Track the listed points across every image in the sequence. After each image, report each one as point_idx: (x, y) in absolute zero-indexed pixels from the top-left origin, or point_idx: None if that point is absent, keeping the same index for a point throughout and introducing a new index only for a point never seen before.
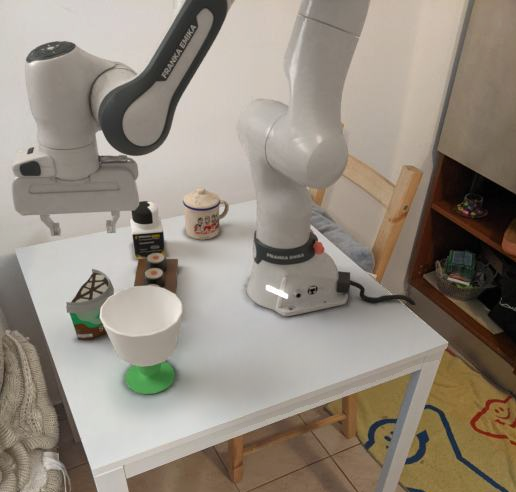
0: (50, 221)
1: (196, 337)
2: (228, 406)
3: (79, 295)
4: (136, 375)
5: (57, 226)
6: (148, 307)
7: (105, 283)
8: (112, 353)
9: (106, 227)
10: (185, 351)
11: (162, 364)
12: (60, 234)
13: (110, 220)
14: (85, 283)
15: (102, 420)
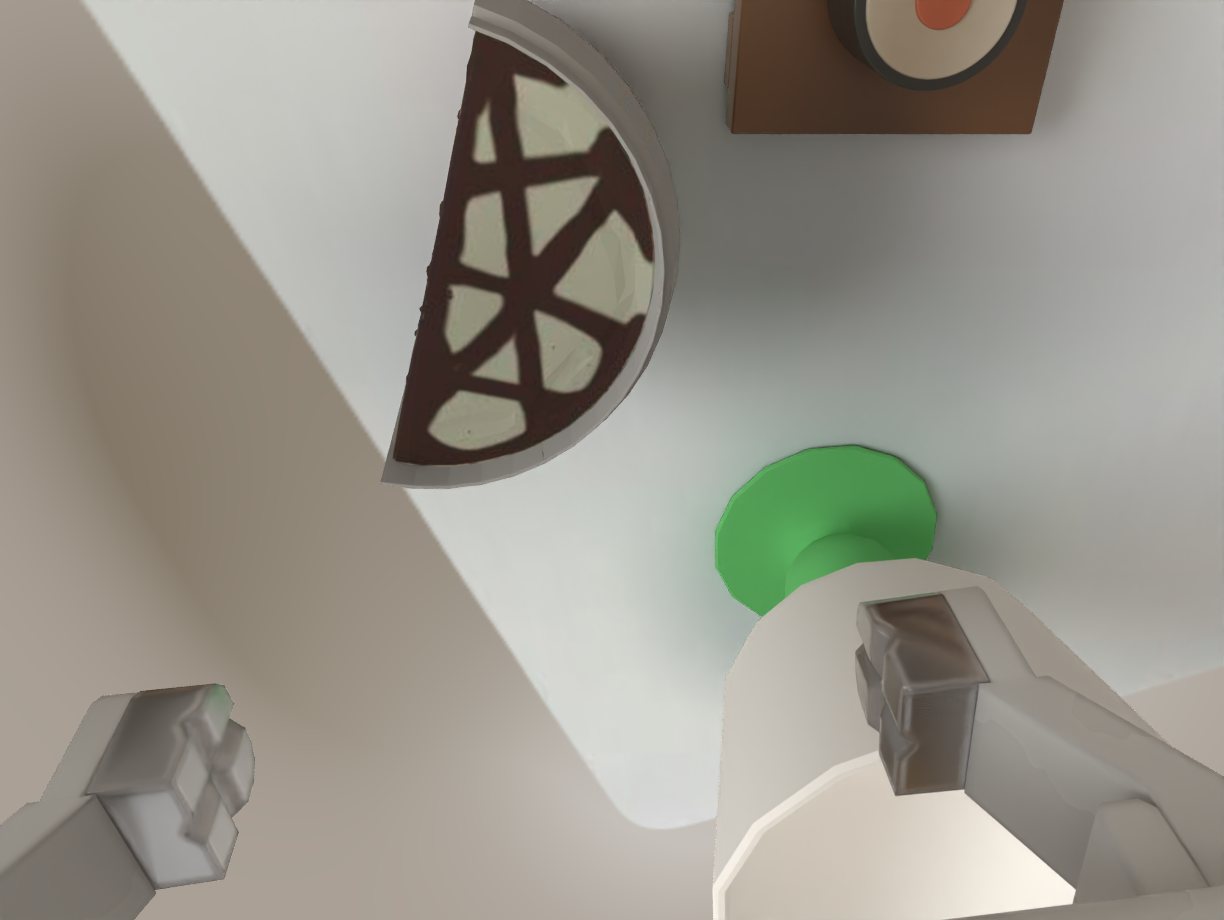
0: (64, 915)
1: (1098, 283)
2: (1107, 665)
3: (441, 361)
4: (763, 543)
5: (196, 861)
6: None
7: (618, 205)
8: (637, 397)
9: (884, 767)
10: (1012, 387)
11: (887, 481)
12: (246, 741)
13: (969, 694)
14: (450, 215)
15: (638, 716)
